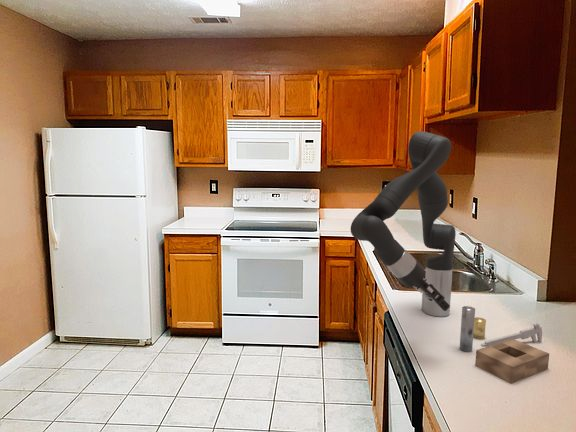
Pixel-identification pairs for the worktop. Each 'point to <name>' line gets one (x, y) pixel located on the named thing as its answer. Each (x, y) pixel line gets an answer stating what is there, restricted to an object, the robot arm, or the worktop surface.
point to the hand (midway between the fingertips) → (439, 303)
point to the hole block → (512, 360)
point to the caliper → (519, 336)
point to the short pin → (479, 328)
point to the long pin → (467, 328)
